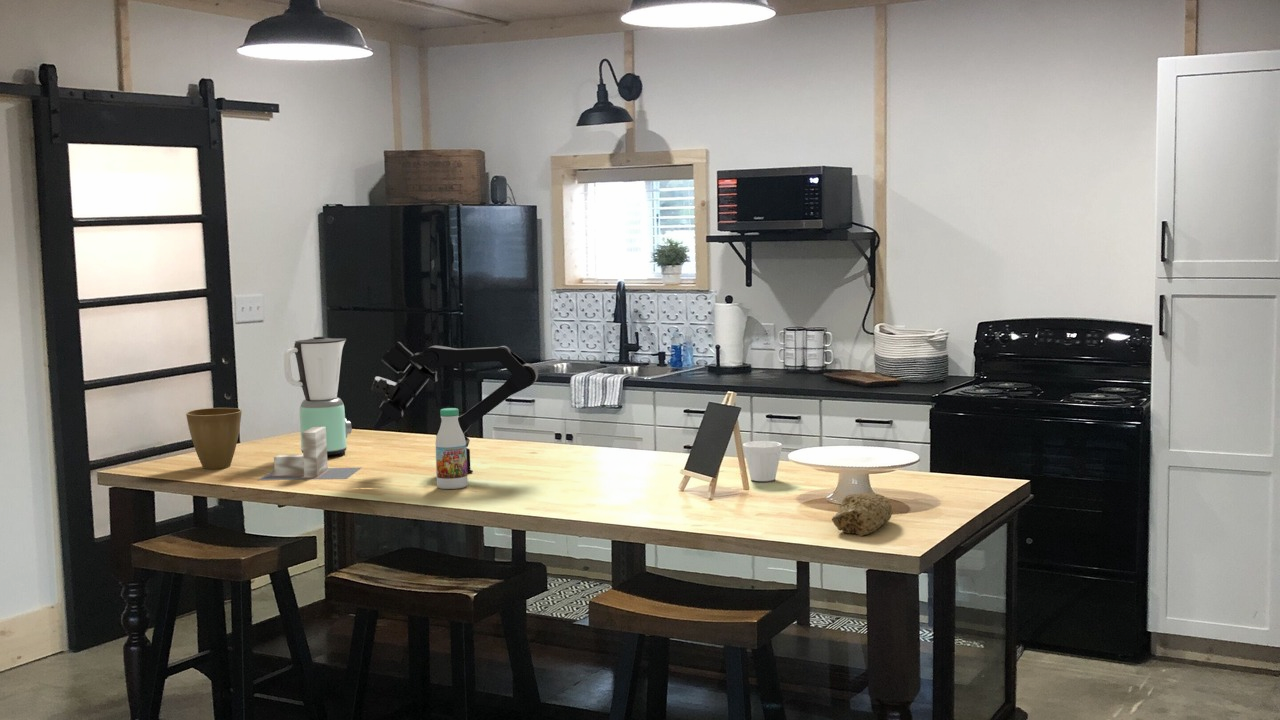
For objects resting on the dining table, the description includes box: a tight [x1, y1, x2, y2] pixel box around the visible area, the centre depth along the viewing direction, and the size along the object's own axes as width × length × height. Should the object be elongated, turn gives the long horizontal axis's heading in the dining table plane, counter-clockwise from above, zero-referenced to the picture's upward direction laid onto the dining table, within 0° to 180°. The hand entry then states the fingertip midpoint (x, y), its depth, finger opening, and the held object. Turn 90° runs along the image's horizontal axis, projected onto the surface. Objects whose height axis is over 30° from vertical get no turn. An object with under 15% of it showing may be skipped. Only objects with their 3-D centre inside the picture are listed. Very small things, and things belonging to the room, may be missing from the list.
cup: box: [742, 440, 783, 483], centre depth 319 cm, size 10×10×9 cm
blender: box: [283, 336, 353, 457], centre depth 371 cm, size 19×13×35 cm
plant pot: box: [185, 407, 243, 470], centre depth 357 cm, size 15×15×16 cm
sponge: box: [831, 492, 893, 537], centre depth 268 cm, size 13×8×20 cm
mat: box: [257, 467, 362, 481], centre depth 341 cm, size 24×16×1 cm, turn 88°
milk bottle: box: [435, 407, 469, 490], centre depth 320 cm, size 8×8×20 cm
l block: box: [273, 427, 329, 477], centre depth 341 cm, size 12×10×12 cm
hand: (374, 428), depth 340 cm, fingers closed
